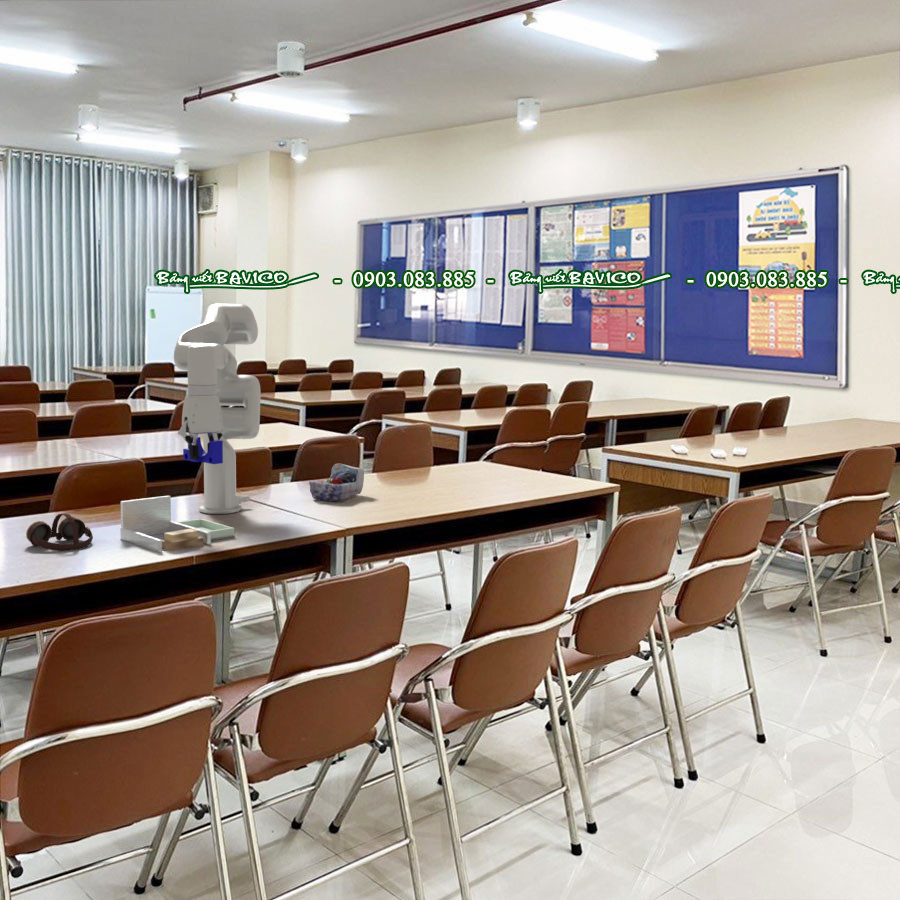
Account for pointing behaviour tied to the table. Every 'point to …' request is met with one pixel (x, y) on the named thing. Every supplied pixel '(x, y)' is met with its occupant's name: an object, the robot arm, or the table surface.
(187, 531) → the oak offcut
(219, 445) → the cable clip
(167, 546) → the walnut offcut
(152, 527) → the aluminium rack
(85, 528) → the goggles
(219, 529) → the sage tray
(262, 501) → the table surface
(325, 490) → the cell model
